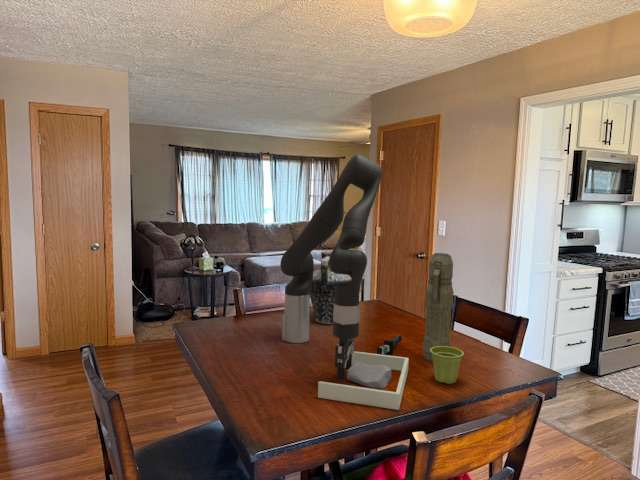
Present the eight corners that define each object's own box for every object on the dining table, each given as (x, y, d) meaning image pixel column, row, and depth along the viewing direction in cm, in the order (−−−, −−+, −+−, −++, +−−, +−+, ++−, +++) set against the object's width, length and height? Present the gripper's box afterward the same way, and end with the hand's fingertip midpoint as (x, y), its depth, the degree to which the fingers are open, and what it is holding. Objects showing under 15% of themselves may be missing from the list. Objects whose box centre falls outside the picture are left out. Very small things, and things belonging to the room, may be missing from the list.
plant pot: (442, 388, 123) (444, 358, 122) (422, 376, 131) (423, 347, 130) (469, 384, 126) (470, 354, 126) (447, 372, 135) (448, 344, 134)
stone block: (383, 397, 121) (393, 377, 129) (382, 381, 120) (392, 363, 128) (343, 389, 126) (355, 371, 135) (341, 374, 125) (354, 357, 133)
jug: (309, 314, 198) (311, 248, 196) (352, 317, 196) (355, 250, 193) (301, 327, 178) (303, 253, 175) (349, 330, 175) (351, 255, 173)
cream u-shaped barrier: (317, 397, 115) (318, 382, 115) (341, 361, 141) (341, 349, 141) (398, 409, 109) (399, 394, 109) (408, 370, 135) (408, 357, 135)
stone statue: (419, 361, 143) (424, 254, 140) (425, 350, 154) (430, 251, 151) (447, 366, 140) (453, 256, 137) (451, 354, 151) (457, 253, 148)
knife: (380, 361, 138) (381, 347, 138) (371, 359, 140) (372, 345, 140) (408, 345, 165) (409, 333, 165) (400, 343, 167) (401, 331, 167)
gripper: (339, 312, 133) (337, 364, 135) (326, 324, 120) (325, 382, 121) (363, 314, 131) (361, 367, 133) (354, 327, 117) (352, 386, 119)
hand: (344, 374), depth 127 cm, fingers open, 8 cm apart
